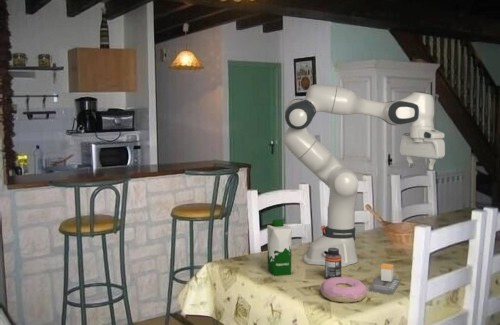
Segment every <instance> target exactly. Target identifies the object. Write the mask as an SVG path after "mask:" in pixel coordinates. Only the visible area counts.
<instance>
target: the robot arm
mask: <svg viewBox="0 0 500 325" xmlns="http://www.w3.org/2000/svg"><path fill="white" fill-rule="evenodd" d="M317 113H327V114H332V115H337V116H338V115H339V116H350V115H364V116H369V117H375V118H377V119H381V120H382V121H384V122H385V123H387V124H388V125H391V126H403V125H405V124H409V133H408V132H404V134H402V135H401V140H400V143H399V144H400V145H399V154H400V156H403V157H404V156H405V157H406V160H407V162H408V168H415V165H416V164H415V162H414V161H413V159H414V158H415V157H416V158H426V159H429V164H427V165H426V169H427V170H429V171H433V170H434V165H435V164H436V162H437V160H438V159H439V160H440V159H443V158H444V157H445V155H446V143H445V140H444V139H445V133H444V132H442V131H439V130H437V129H436V128H435V125H434V116H435V101H434V96H433V95H432V94H431V93H428V92H424V91H413V92H412V93H411V94H409V95H407V96H406V97H404V98H401V99H398V100H391V101H388V102H382V101H376V100H372V99H367V98H363V97H362V96H359V95H358V94H357V93H356V92H355V91H353V90H351V89H349V88H346V87H342V86H338V85H332V84H324V83H323V84H319V83H317V84H313V85H311V86H310V87H309V88H308V89H307V91H306V94H305V97H304V98H296V99H293V100H291V101H290V102H289V103H288V104H287V105H286V107H285V110H284V120H285V123H286V124H287V126H288V129H287V130H285V132H284V134H283V138H282V141H283V143H284V145H285V146H286V148H287V149H288V150H289V151H290V153H291V154H293V156H294V157H295V158H296V159H297V160H298V161H299V162H301V163H302V164H303V165H304V166H305V167H306V168H307V169H308V170H309V171H311V172H312V173H313V174H314V175H315V176H316V177H317V179H319V180H320V181H321V182H322V183H324V184H325V186H327V188H329V196H328V198H329V199H328V204H327V205H328V206H327V225H321V227H320V230H321V231H322V233H321V234H322V235H321V236H319V237H318V238H316V239H315V240H314V241H312V242H311V244H310V246H309V249H308V252H307V253H305V254H304V255H303V262H304V263H306V264H308V265H317V266H325V255H326V254H327V253H328V248H338V249H339V254H340V255H341V268H342V267H343V268H344V267H347V266H350V265H354V264H356V263H358V262H359V258H358V255H357V250H356V236H357V229H356V227H355V220H356V218H355V212H356V202H357V196H358V189H359V179H358V176H357V175H356V173H355V172H354V171H352V170H351V169H349V168H348V167H347V166H345V164H343V163H342V162H341V161H340V160H339V159H338V158H337V157H336V156H334V154H333V153H332V152H331V151H330V150H329V149H327V147H325V146H324V144H322V143H321V142H320V141H319V140H318V139H317V138H315V136H314V135H313V134H312V133H310V132H309V130H308V126H309V125H310V124H311V123H312V121H313V119H314V117H315V116H316V114H317Z"/></svg>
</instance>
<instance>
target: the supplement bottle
mask: <svg viewBox="0 0 500 325" xmlns="http://www.w3.org/2000/svg"><path fill="white" fill-rule="evenodd" d="M324 269H325V270H324V273H325V274H324V275H325V280H327V279H330V278H334V277H342V267H341V255H340V254H339V249H338V248H328V253H327V254H326V255H325V265H324Z"/></svg>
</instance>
